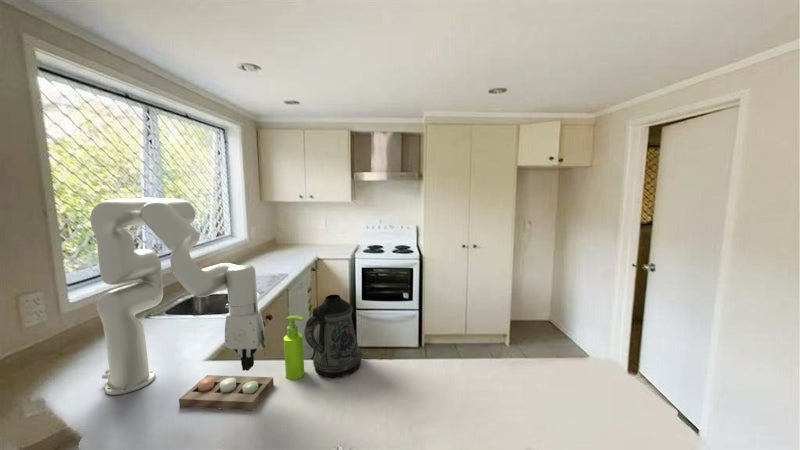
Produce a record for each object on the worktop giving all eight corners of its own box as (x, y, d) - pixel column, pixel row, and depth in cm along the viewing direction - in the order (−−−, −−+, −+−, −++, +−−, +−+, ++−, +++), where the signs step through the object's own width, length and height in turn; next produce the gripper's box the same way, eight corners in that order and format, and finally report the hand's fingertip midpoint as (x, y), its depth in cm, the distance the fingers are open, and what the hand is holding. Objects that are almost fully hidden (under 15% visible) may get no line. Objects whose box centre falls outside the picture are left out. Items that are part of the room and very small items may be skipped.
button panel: (179, 407, 93) (178, 398, 93) (208, 382, 105) (207, 375, 105) (253, 410, 91) (252, 402, 91) (273, 384, 103) (273, 377, 102)
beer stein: (367, 355, 120) (365, 289, 117) (350, 387, 101) (347, 309, 98) (325, 352, 123) (321, 287, 120) (300, 382, 104) (296, 306, 101)
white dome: (217, 393, 96) (216, 385, 95) (226, 385, 100) (225, 377, 100) (230, 394, 95) (230, 386, 95) (239, 385, 100) (238, 378, 99)
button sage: (240, 397, 95) (239, 389, 95) (248, 388, 99) (247, 380, 99) (253, 397, 95) (253, 389, 94) (261, 389, 99) (260, 381, 99)
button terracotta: (195, 393, 96) (194, 385, 96) (204, 384, 101) (204, 376, 100) (208, 393, 96) (207, 385, 96) (217, 385, 100) (217, 377, 100)
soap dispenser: (301, 380, 105) (298, 320, 102) (282, 378, 106) (278, 319, 104) (310, 370, 110) (307, 313, 108) (291, 368, 112) (288, 312, 110)
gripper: (210, 312, 91) (216, 374, 93) (261, 313, 90) (265, 376, 92) (227, 303, 99) (231, 360, 101) (274, 304, 97) (278, 362, 99)
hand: (248, 368), depth 96 cm, fingers closed
